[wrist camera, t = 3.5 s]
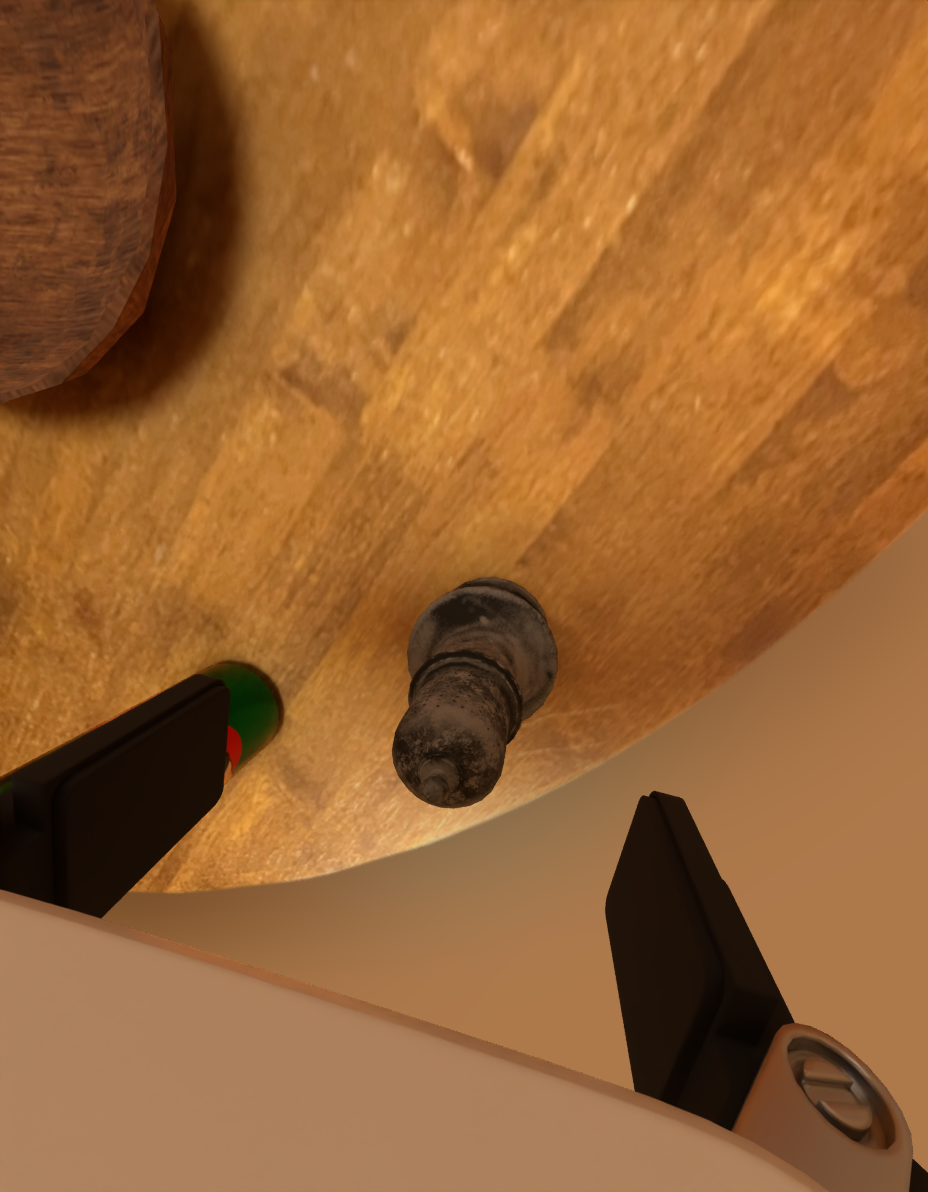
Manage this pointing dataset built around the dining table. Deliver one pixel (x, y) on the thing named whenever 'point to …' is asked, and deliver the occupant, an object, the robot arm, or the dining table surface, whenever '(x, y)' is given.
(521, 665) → the chess piece
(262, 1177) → the robot arm
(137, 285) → the bowl
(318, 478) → the dining table surface
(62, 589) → the dining table surface
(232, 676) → the soda can
